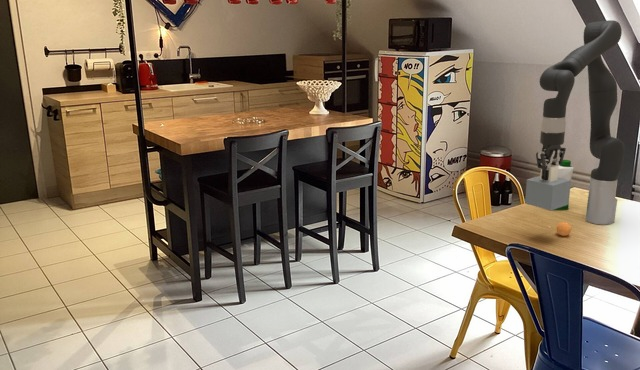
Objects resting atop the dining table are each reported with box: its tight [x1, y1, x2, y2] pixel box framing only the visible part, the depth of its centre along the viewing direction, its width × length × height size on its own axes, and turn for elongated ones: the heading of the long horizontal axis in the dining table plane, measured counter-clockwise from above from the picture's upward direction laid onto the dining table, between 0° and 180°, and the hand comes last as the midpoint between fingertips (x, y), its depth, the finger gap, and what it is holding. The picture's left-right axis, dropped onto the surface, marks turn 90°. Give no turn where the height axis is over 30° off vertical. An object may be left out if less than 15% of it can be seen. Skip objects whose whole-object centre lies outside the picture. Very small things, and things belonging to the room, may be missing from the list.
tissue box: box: [524, 163, 572, 211], centre depth 192 cm, size 10×10×14 cm
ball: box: [555, 221, 572, 237], centre depth 201 cm, size 5×5×5 cm
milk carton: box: [553, 159, 575, 211], centre depth 229 cm, size 9×9×20 cm
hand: (548, 178), depth 191 cm, fingers closed on tissue box, 4 cm apart
